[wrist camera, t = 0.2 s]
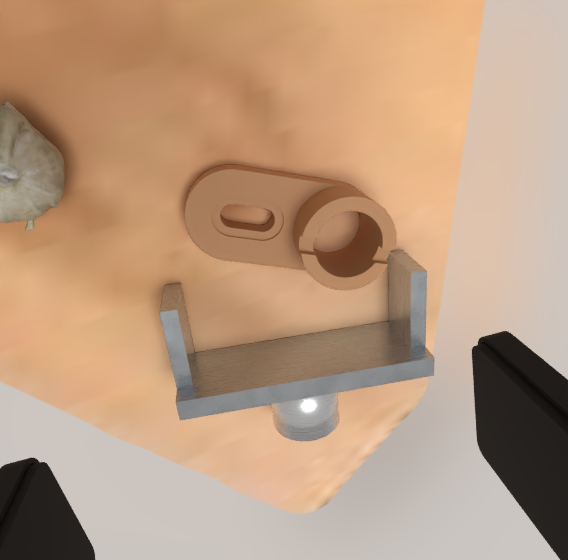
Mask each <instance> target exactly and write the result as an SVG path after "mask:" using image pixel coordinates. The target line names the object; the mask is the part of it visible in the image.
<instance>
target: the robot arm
mask: <svg viewBox="0 0 568 560" xmlns="http://www.w3.org/2000/svg"><path fill="white" fill-rule="evenodd" d="M472 360H473V361H472V362H473V378H474V397H475V414H476V431H477V442H478V446H479V448H480V451H481V453H482V455H483V456H484V458H485V459H486V460H487V462H488V463H489V464H490V466H491V467H492V469H493V470H494V471H495V473H496V474H497V475H498V476H499V478H500V479H501V481H502V482H503V483H504V485H505V486H506V487H507V489H508V490H509V491H510V493H511V494H512V495H513V497H514V498H515V500H516V501H517V502H518V503H519V505H520V506H521V507H522V509H523V510H524V512H525V513H526V514H527V516H528V517H529V518H530V520H531V521H532V522H533V524H534V525H535V526H536V528H537V529H538V530H539V532H540V533H541V534H542V536H543V537H544V538H545V540H546V541H547V543H548V544H549V545H550V547H551V548H552V549H553V551H554V552H555V553H556V554H557V556H558V557H559V558H560V560H568V380H567V379H566V378H565V377H564V376H562V375H561V374H560V373H559V372H557V371H556V370H555V369H554V368H553V367H551V366H550V365H549V364H548V363H546V362H545V361H544V360H543V359H542V358H540V357H539V356H538V355H537V354H535V353H534V352H533V351H532V350H531V349H529V348H528V347H527V346H526V345H524V344H523V343H522V342H521V341H519V340H518V339H517V338H516V337H515V336H513V335H512V334H511V333H509V332H507V331H503V332H499V333H496V334H492V335H488V336H485V337H481V338H480V339H479V341H478V345H477V346H474V347H473V349H472ZM0 560H95V553H94V549H93V546H92V544H91V543H90V541H89V539H88V537H87V535H86V534H85V532H84V530H83V528H82V526H81V524H80V523H79V521H78V519H77V517H76V515H75V514H74V512H73V510H72V508H71V506H70V504H69V503H68V501H67V499H66V497H65V495H64V493H63V491H62V489H61V488H60V486H59V484H58V482H57V480H56V478H55V477H54V475H53V473H52V471H51V469H50V467H49V466H48V465H47V463H45V462H41V463H40V462H39V461H38V460H37V459H35V458H29V459H25V460H21V461H17V462H13V463H10V464H6V465H4V466H2V467H1V468H0Z"/></svg>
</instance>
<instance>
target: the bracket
mask: <svg viewBox="0 0 568 560" xmlns="http://www.w3.org/2000/svg"><path fill="white" fill-rule="evenodd" d="M229 204H237V205H244V206H251V207H258V208H265V209H268V210H270V211H271V212H272V216H271V219H270V220H269V222H267V223H266V224H264V225H255V224H248V223H241V222H233V221H228V220H225V219H224V218H223V217H222V216H221V214H220V213H221V210H222V209H223V208H224V207H225V206H226V205H229ZM347 211H358V212H359V216H360V225H359V229H358V232H357V234H356V236H355V238H354V239H353V241H352V242H351V243H350V244H349V245H347V246H346V247H345V248H343V249H341V250H339V251H335V252H321V251H318V250H315V249H314V248H313V239H314V240H316V238H317V235H318V233H319V231H320V229H321V228H322V226H323V225H324V224H325V223H326V222H327V221H328V220H329V219H330V218H332V217H333V216H335V215H337V214H339V213H343V212H347ZM185 223H186V228H187V230H188V233H189V235H190V237H191V239H192V240H193V242H194V243H195V244H196V245H197V246H198V247H199V248H200V249H201V250H202V251H203V252H205V253H206V254H208V255H210V256H212V257H214V258H217V259H220V260H226V261H234V262H242V263H250V264H259V265H267V266H276V267H284V268H292V269H301V270H307V271H308V273H309V274H310V275H311V276H312V277H313V278H314V279H315V280H316V281H317V282H318V283H320V284H322V285H323V286H326V287H328V288H331V289H335V290H352V289H357V288H360V287H363V286H365V285H367V284H369V283H371V282H372V281H374V280H375V279H376V278H378V277H379V276H380V275H381V274H382V273H383V272H384V271H385V269H386V268H387V267H388V265H389V264H388V263H387V262H386V260H387V258H388V256H389V254H390V250H395V247H396V230H395V226H394V223H393V221H392V219H391V217H390V215H389V214H388V213H387V211H386V210H385V209H384V208H383V207H382V206H380V205H379V204H378V203H376V202H375V201H373V200H372V199H371V198H369V197H368V196H366V195H365V194H364V193H362V192H361V191H359V190H358V189H356V188H355V187H353V186H352V185H350V184H347V183H344V182H340V181H333V180H327V179H321V178H315V177H309V176H302V175H296V174H290V173H284V172H277V171H271V170H265V169H259V168H253V167H246V166H240V165H221V166H217V167H214V168H212V169H210V170H208V171H206V172H205V173H203V174H202V175H201V176H200V177H199V178H198V179H197V180H196V181H195V182H194V184H193V185H192V187H191V189H190V191H189V194H188V197H187V201H186V206H185Z"/></svg>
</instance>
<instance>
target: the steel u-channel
mask: <svg viewBox="0 0 568 560" xmlns="http://www.w3.org/2000/svg"><path fill="white" fill-rule="evenodd" d="M388 264H389V265H388V289H389V321H385V322H379V323H373V324H367V325H361V326H355V327H349V328H343V329H336V330H330V331H324V332H318V333H312V334H306V335H300V336H294V337H288V338H282V339H276V340H269V341H263V342H257V343H251V344H245V345H239V346H233V347H227V348H221V349H215V350H209V351H202V352H196V353H195V350H194V345H193V341H192V336H191V331H190V326H189V321H188V316H187V311H186V306H185V302H184V297H183V292H182V287H181V283H176V284H169V285H165V288H164V293H163V298H162V302H161V307H160V312H159V313H160V317H161V322H162V326H163V330H164V335H165V339H166V343H167V348H168V352H169V356H170V361H171V365H172V369H173V374H174V378H175V382H176V387H177V395H176V406H177V410H178V414H179V418H180V420H185V419H191V418H197V417H202V416H208V415H213V414H219V413H225V412H230V411H236V410H242V409H247V408H253V407H259V406H264V405H270V404H271V407H272V414H273V421H274V426H275V428H276V430H277V431H278V432H279V433H280V434H281V435H283V436H284V437H286V438H289V439H291V440H296V441H312V440H317V439H320V438H323V437H325V436H327V435H328V434H330V433H331V432H332V431H333V430H334V429H335V428H336V427H337V425H338V422H339V404H338V392H343V391H349V390H355V389H360V388H366V387H371V386H377V385H383V384H388V383H394V382H400V381H405V380H411V379H417V378H422V377H428V376H433V375H434V357H433V355H432V354H431V353H430V352H429V351H428V349H427V348H426V347H425V340H426V290H427V271H426V270H425V269H424V268H423V267H422V266H421V265H419V264H418V263H417V262H416V261H415V260H414V259H412V258H411V257H410V256H409V255H408V254H407V253H405V252H404V251H403V250H397V251H390V254H389V256H388Z"/></svg>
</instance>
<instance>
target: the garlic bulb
mask: <svg viewBox="0 0 568 560" xmlns="http://www.w3.org/2000/svg"><path fill="white" fill-rule="evenodd" d="M64 179H65V173H64V159H63V156H62V155H61V153H60V152H59V150H58V149H57V148H56V147H55V146H54V145H53V144H52V143H51V142H49V141H48V140H47V138H45V137H44V136H43V135H42V134H41V133H40V132H39V131H38V130H36V129H35V128H34V127H32V126H31V124H30V123H29V121H28V120H27V119H26V118H25V117H24V116H23V115H22V114H21V113H20V112H18V111H17V110H16V108H15V107H14V106H13V105H11V104H10V103H9V102H6V103H5V105H4V106H3V105H0V222H3V223H9V222H19V221H27V225H26V227H25V230H26V231H29V230H32V229H33V228H34V221H35V219H36V218H37V217H39V216H41V215H43V214H44V213H45V212H46V211H47V210H48V209H50V208H51V207H57V206H58V204H59V202H60V200H61V197H62V195H63V191H64Z"/></svg>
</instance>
